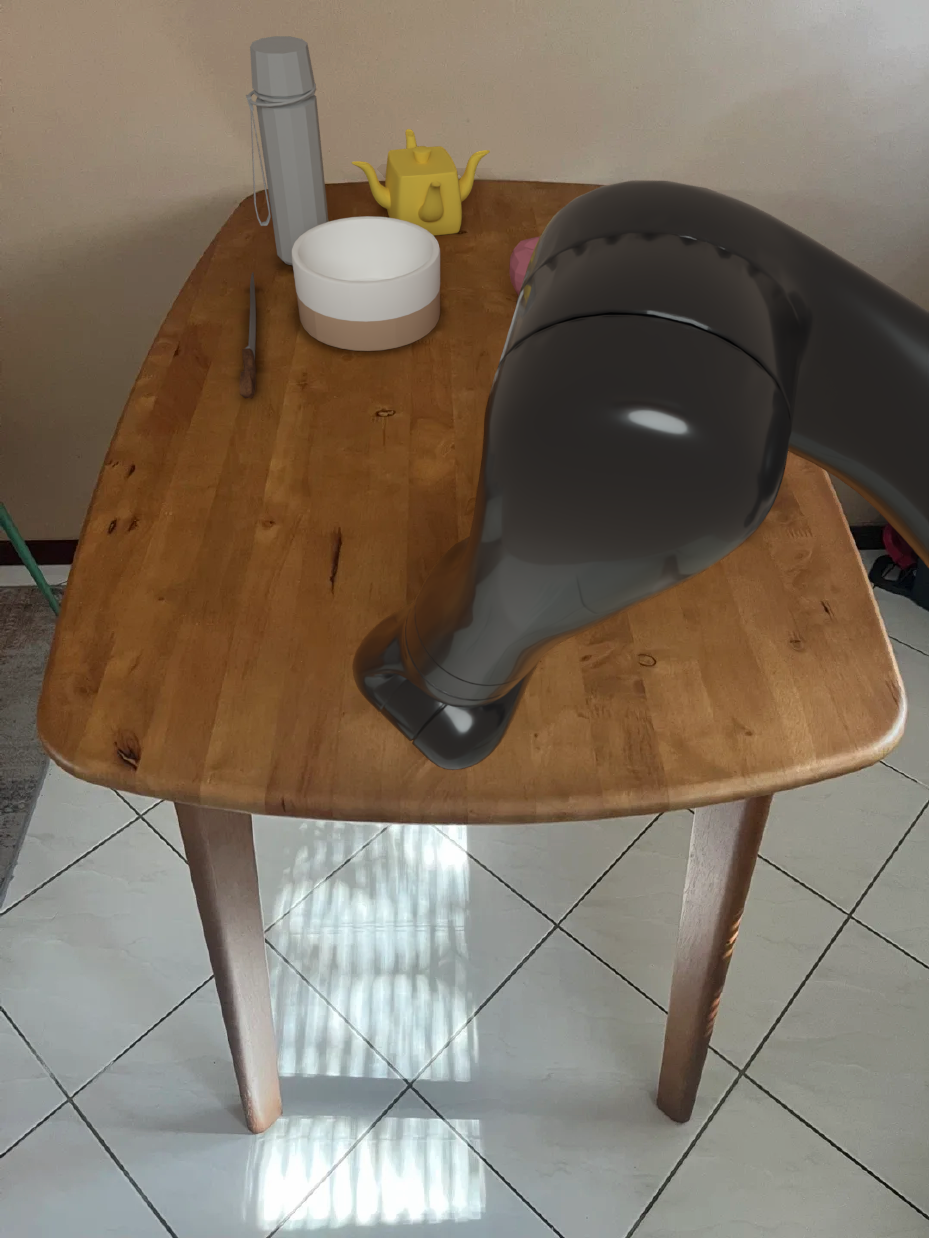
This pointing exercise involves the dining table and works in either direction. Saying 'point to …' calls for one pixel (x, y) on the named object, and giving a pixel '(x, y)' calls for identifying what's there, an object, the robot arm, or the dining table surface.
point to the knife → (250, 351)
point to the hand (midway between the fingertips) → (685, 436)
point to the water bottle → (288, 138)
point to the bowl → (367, 282)
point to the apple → (521, 261)
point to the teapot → (423, 186)
